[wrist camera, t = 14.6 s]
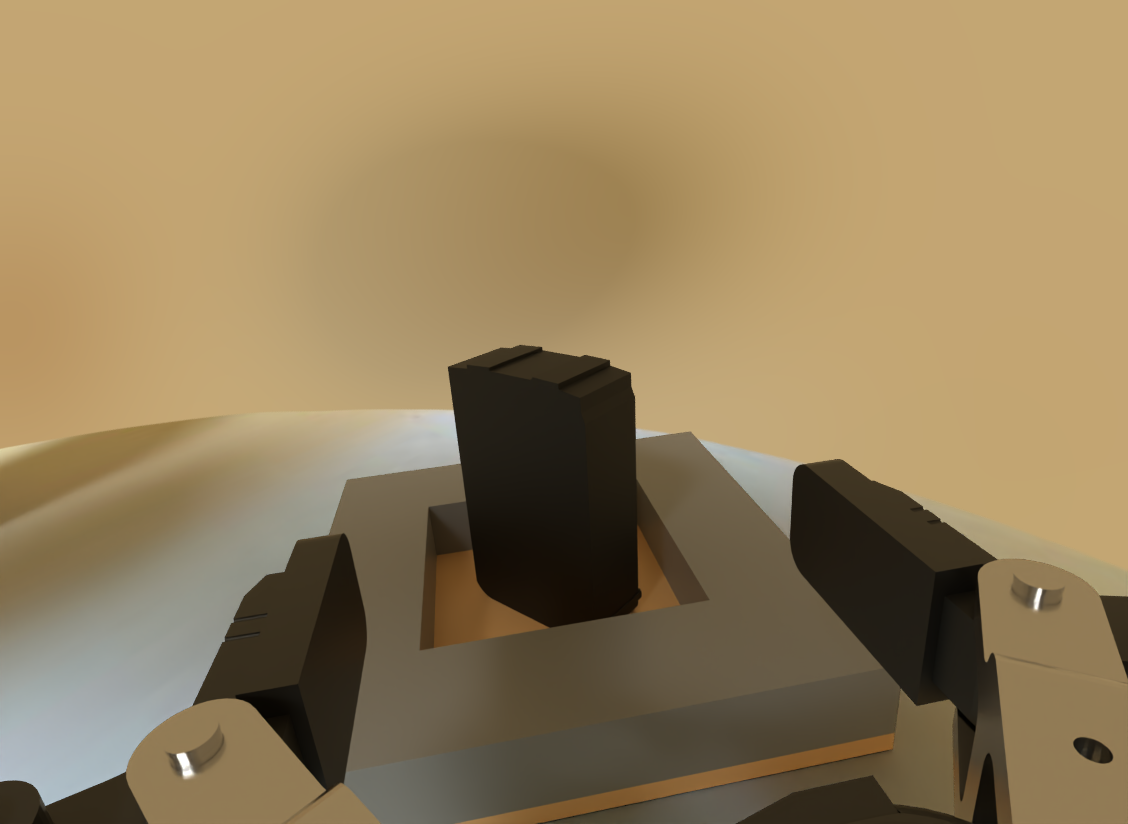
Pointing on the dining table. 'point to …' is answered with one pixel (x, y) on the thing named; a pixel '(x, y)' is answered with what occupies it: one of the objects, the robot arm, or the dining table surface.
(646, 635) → the frame
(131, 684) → the dining table surface
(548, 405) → the ink cartridge
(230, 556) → the dining table surface
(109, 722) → the dining table surface
